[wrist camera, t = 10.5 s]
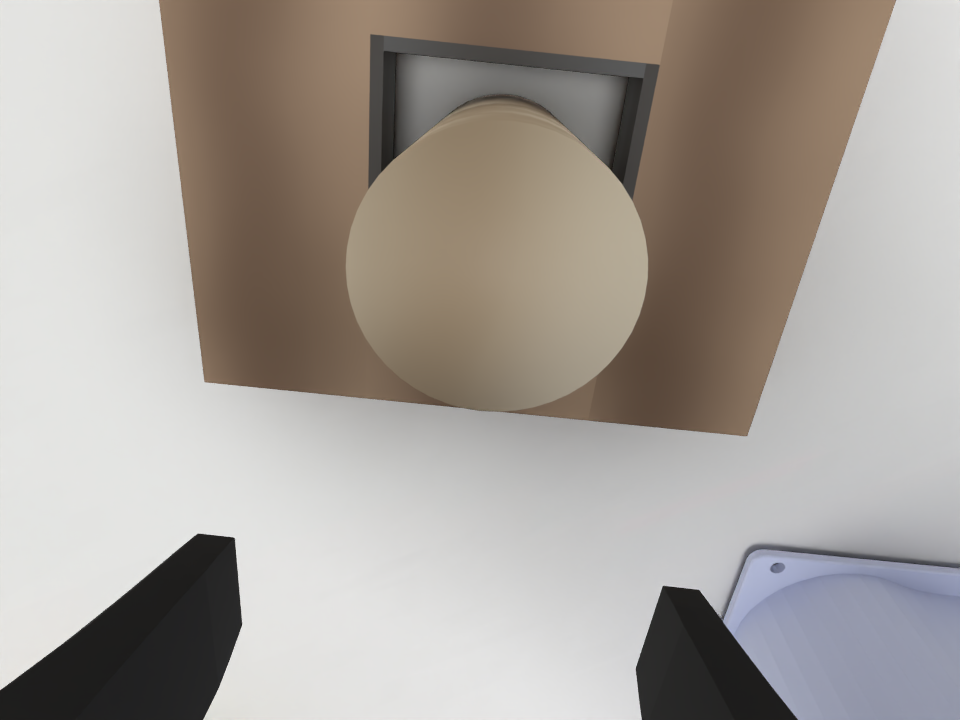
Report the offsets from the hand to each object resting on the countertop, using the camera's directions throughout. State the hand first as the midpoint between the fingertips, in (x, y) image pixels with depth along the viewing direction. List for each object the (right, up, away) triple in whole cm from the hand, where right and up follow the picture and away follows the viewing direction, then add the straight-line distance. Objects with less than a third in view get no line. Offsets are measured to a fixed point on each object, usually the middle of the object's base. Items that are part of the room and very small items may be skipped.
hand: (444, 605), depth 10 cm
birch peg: (+1, +9, +7) cm, 11 cm away
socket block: (+1, +9, +7) cm, 11 cm away
